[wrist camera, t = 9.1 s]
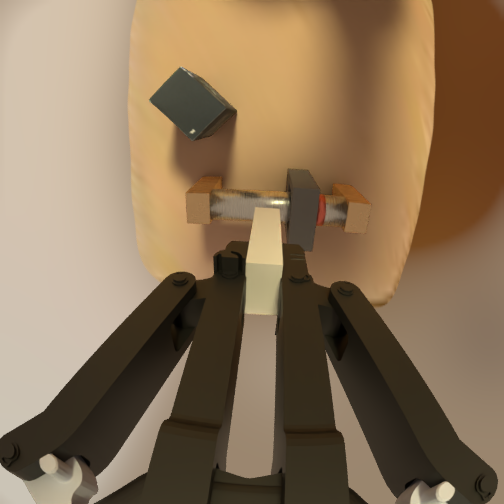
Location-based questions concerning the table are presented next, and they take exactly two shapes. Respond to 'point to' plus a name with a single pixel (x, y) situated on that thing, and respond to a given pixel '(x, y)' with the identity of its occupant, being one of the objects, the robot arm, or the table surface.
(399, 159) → the table surface
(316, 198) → the collar
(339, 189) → the pipe
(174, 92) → the box
